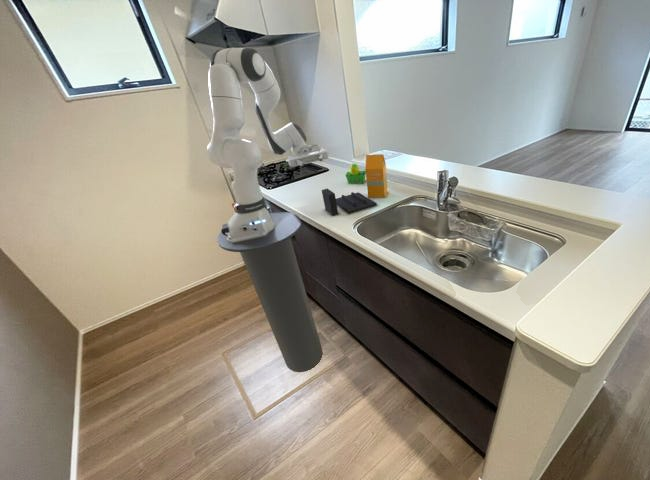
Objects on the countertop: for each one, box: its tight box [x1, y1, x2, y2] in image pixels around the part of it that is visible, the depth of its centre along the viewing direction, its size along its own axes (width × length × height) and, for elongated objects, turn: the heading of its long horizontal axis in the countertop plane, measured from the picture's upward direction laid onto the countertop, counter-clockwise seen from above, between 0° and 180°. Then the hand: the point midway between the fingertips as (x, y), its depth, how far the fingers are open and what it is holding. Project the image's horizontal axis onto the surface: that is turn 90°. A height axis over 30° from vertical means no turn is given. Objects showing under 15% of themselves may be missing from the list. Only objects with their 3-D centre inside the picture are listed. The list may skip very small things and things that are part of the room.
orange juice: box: [364, 153, 388, 199], centre depth 149 cm, size 8×9×20 cm
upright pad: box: [321, 188, 339, 217], centre depth 139 cm, size 3×9×10 cm, turn 29°
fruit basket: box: [345, 163, 366, 184], centre depth 172 cm, size 11×9×11 cm
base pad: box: [336, 191, 378, 215], centre depth 147 cm, size 15×20×3 cm
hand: (312, 161), depth 142 cm, fingers open, 8 cm apart
